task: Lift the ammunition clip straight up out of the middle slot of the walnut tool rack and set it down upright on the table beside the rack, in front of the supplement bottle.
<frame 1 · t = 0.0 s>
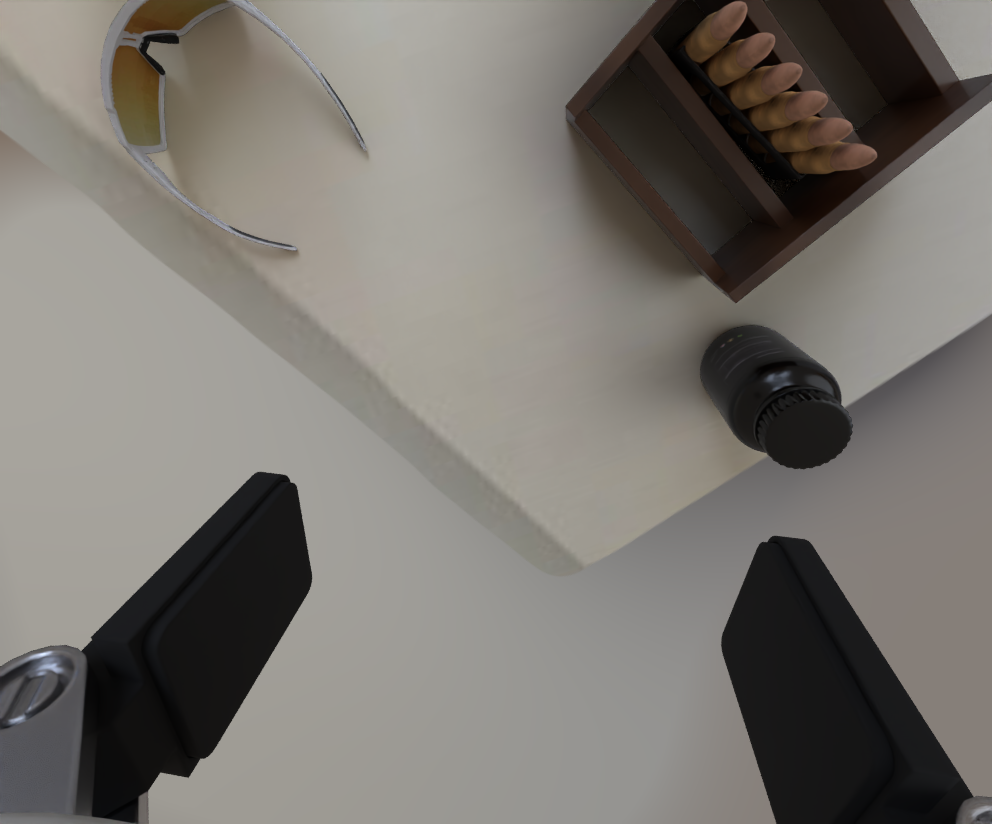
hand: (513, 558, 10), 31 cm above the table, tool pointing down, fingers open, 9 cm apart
ammunition clip: (728, 110, 32), resting in rack
rack: (729, 110, 31), on the table
sunglasses: (252, 127, 36), on the table
supplement bottle: (741, 362, 39), on the table
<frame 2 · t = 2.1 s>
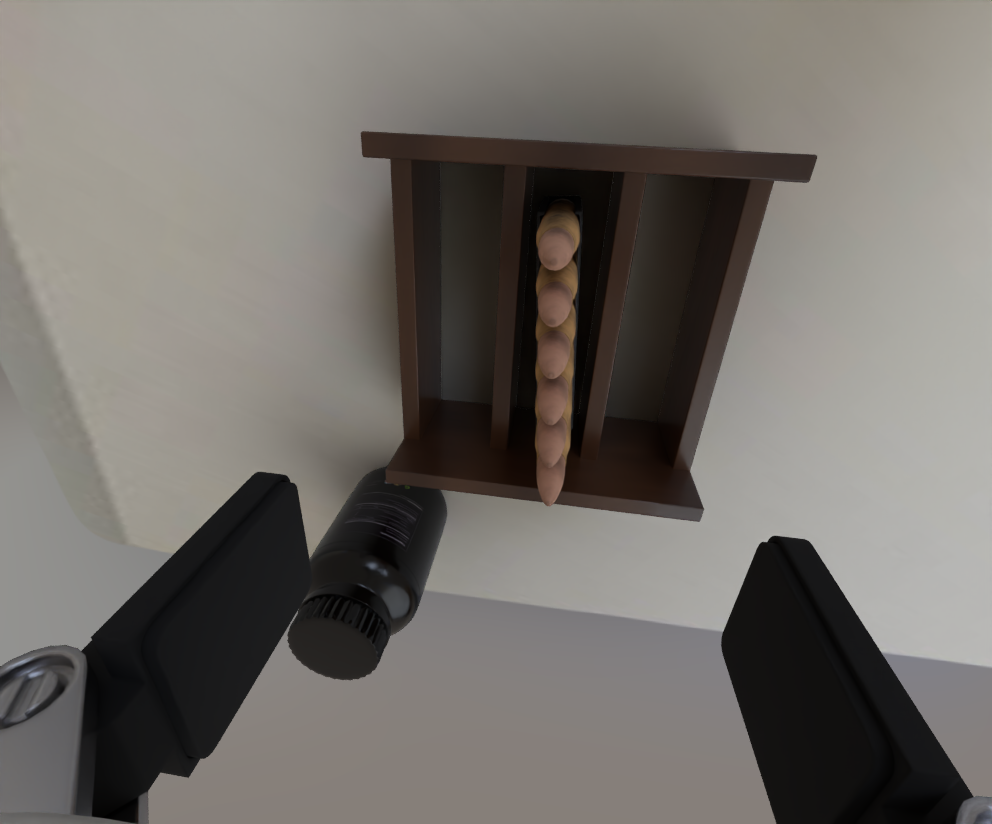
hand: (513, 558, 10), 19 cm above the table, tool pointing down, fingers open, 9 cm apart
ammunition clip: (559, 301, 27), resting in rack
rack: (559, 302, 26), on the table
supplement bottle: (404, 500, 35), on the table
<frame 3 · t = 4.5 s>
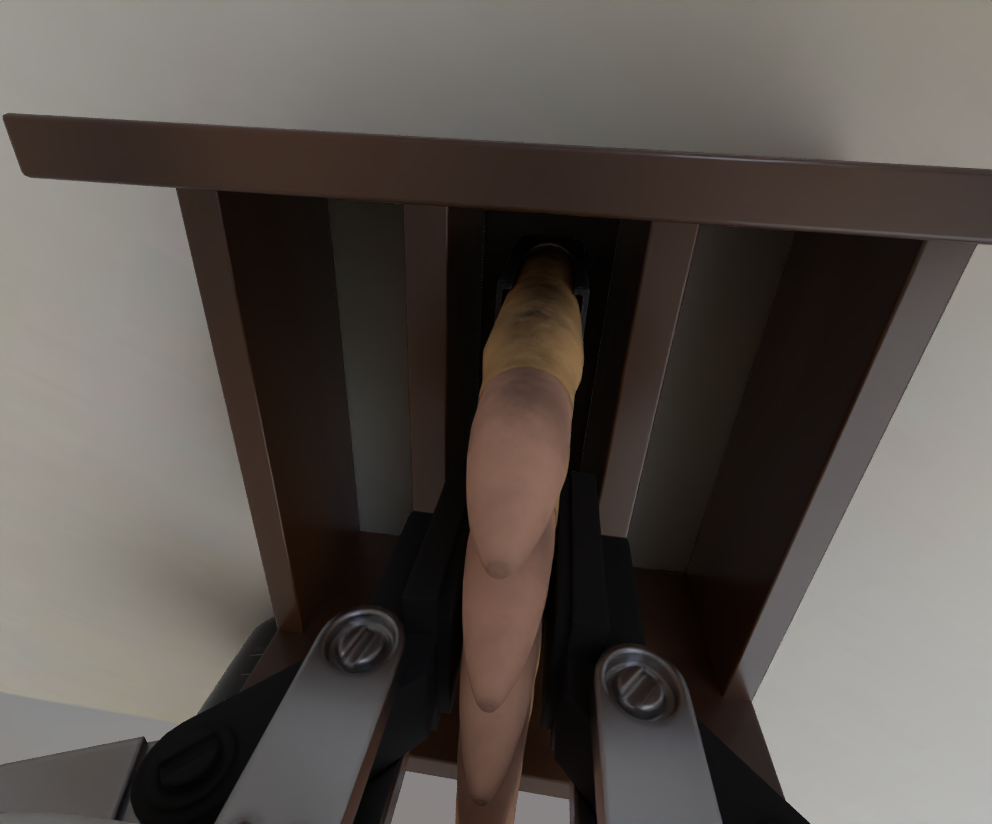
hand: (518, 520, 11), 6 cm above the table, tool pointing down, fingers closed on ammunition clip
ammunition clip: (534, 399, 17), resting in rack, touching gripper
rack: (533, 403, 16), on the table
supplement bottle: (320, 651, 25), on the table
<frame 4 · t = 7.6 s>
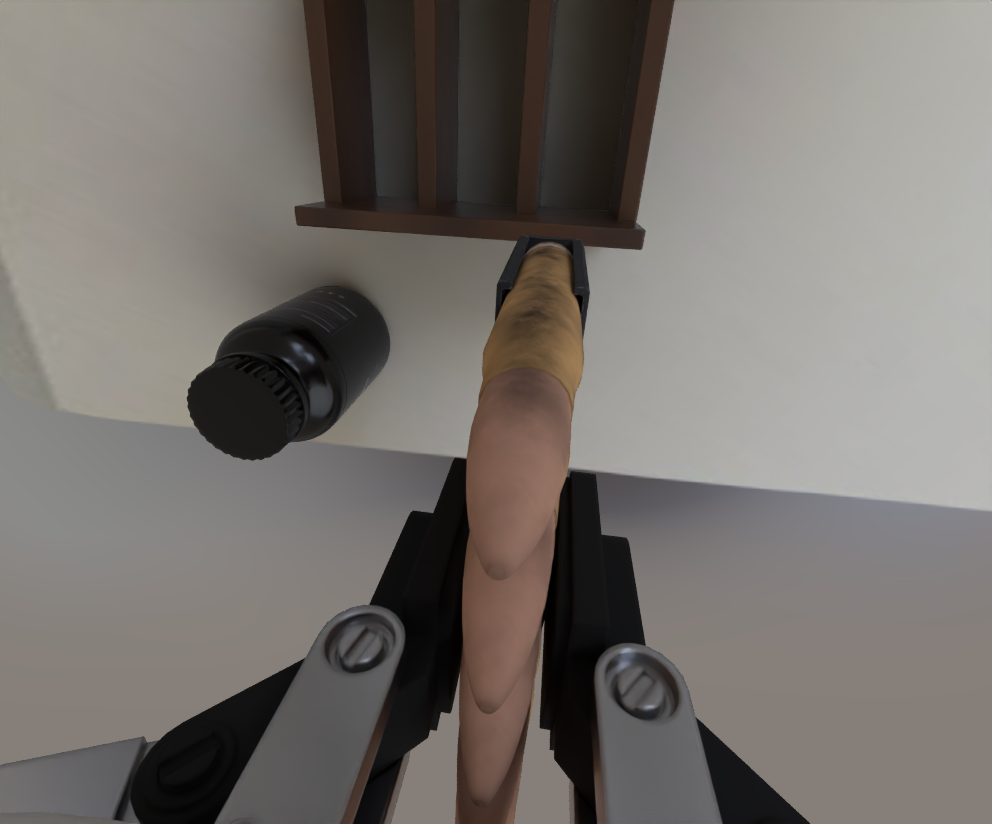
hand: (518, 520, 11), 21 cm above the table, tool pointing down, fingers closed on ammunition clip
ammunition clip: (534, 399, 17), point 14 cm above the table, touching gripper
rack: (496, 58, 24), on the table
supplement bottle: (345, 333, 32), on the table
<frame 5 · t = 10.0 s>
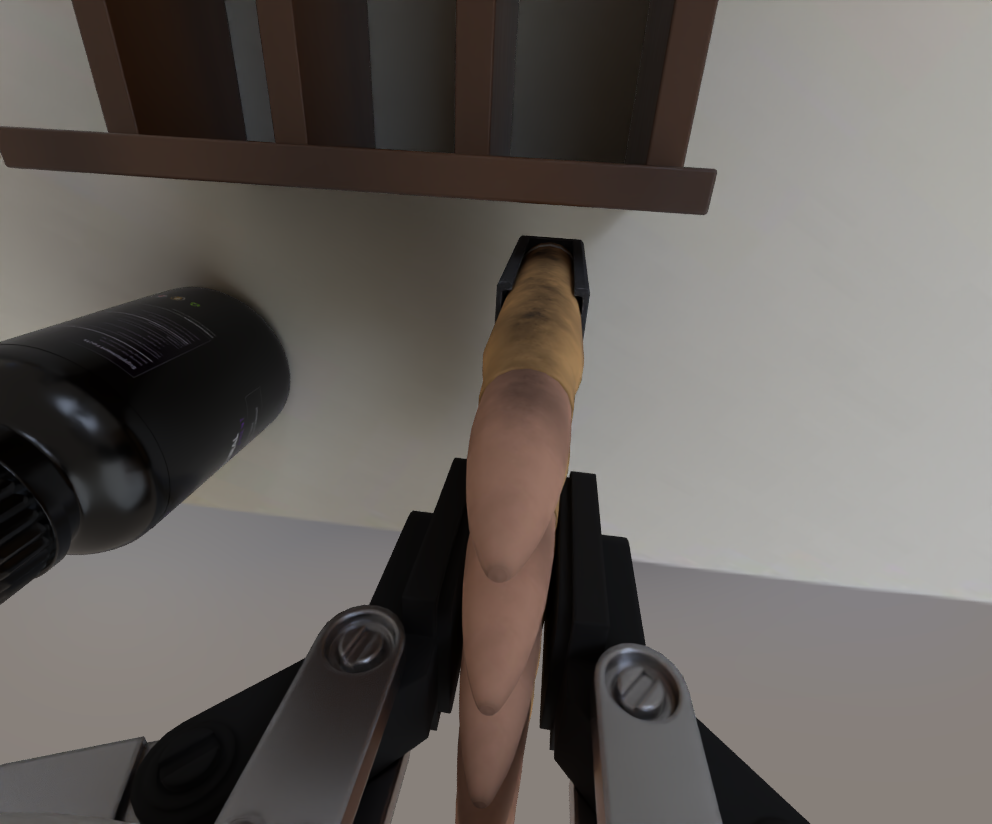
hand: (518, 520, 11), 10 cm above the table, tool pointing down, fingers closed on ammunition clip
ammunition clip: (534, 400, 17), point 3 cm above the table, touching gripper
supplement bottle: (226, 357, 22), on the table
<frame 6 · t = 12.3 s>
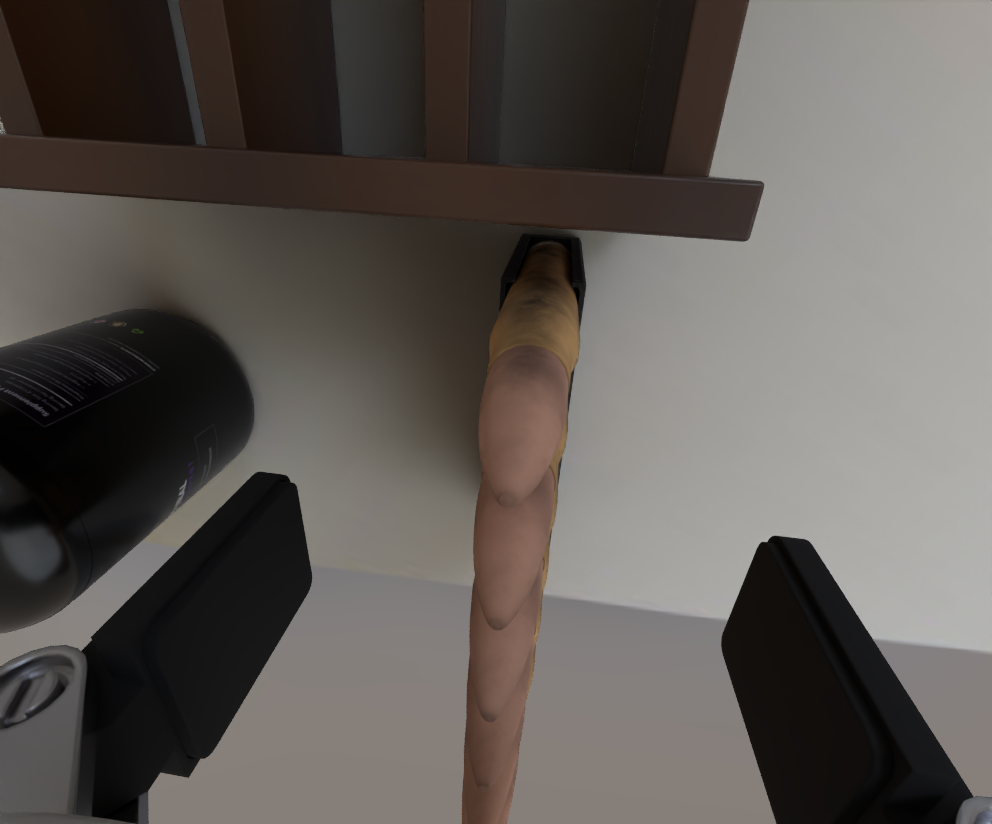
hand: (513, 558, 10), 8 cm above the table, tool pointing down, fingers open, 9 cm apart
ammunition clip: (535, 390, 17), on the table
supplement bottle: (182, 386, 19), on the table
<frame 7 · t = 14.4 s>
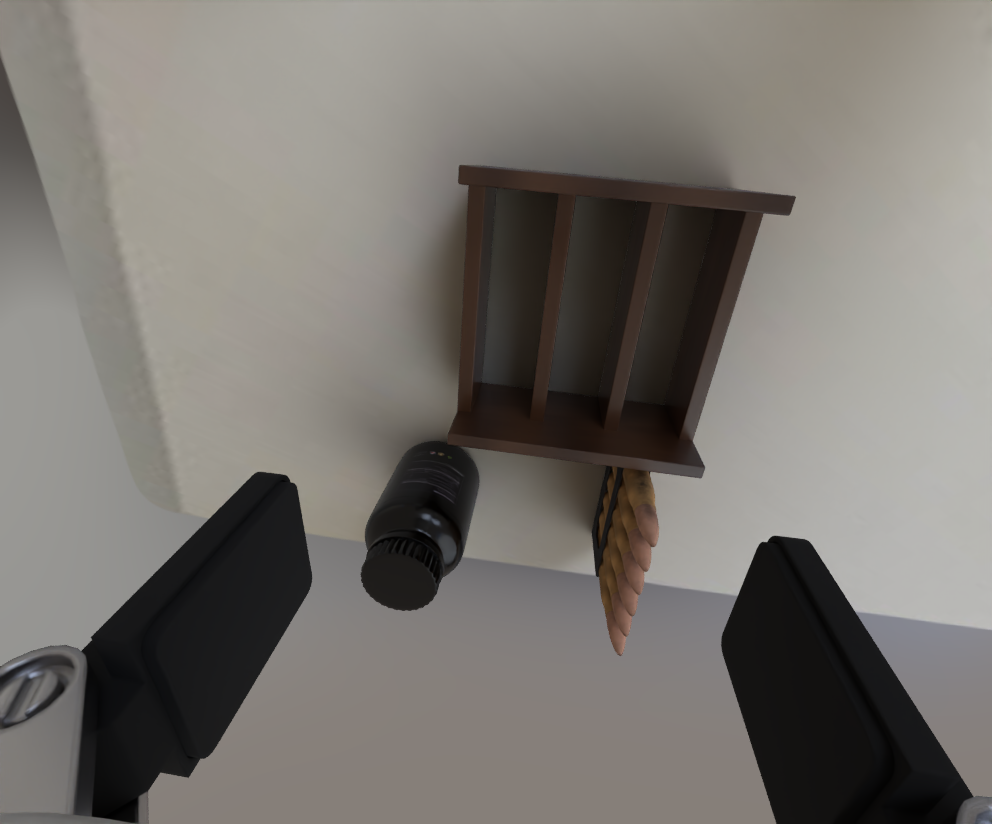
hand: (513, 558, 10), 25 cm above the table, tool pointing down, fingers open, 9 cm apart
ammunition clip: (614, 481, 38), on the table
rack: (587, 302, 32), on the table
supplement bottle: (441, 472, 40), on the table
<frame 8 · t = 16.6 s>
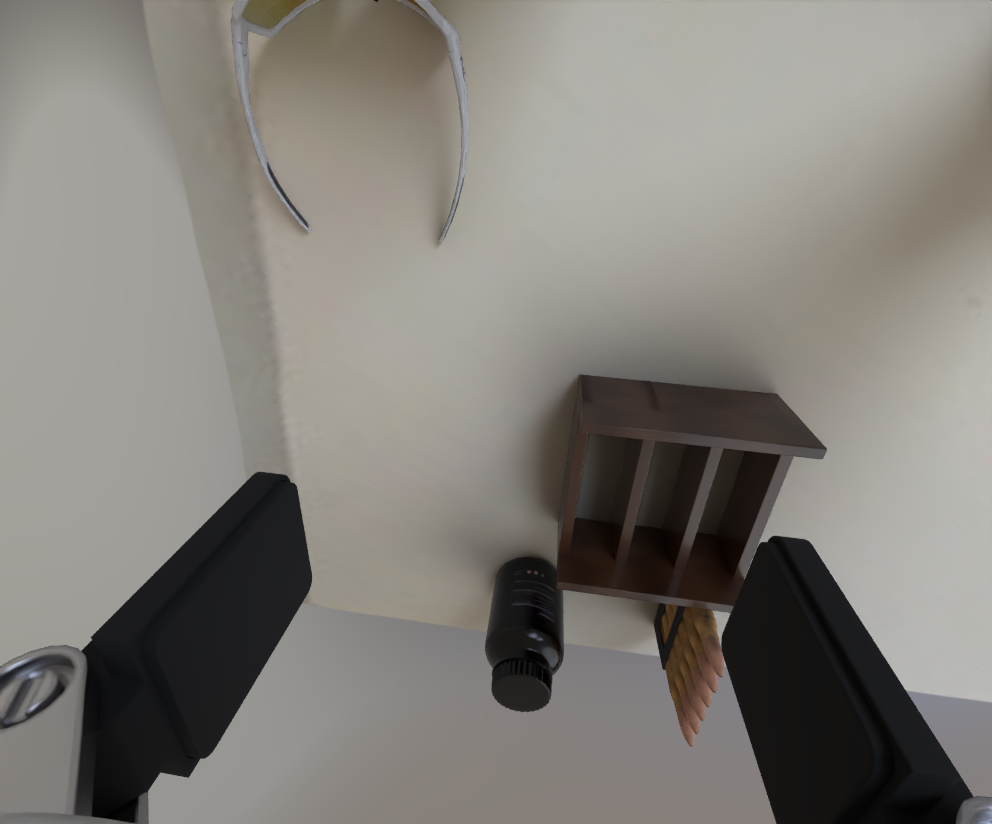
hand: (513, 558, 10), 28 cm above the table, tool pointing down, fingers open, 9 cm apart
ammunition clip: (673, 587, 47), on the table
rack: (656, 464, 41), on the table
sunglasses: (369, 119, 32), on the table
supplement bottle: (529, 578, 49), on the table
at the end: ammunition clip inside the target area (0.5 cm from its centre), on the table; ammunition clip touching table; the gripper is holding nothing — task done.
